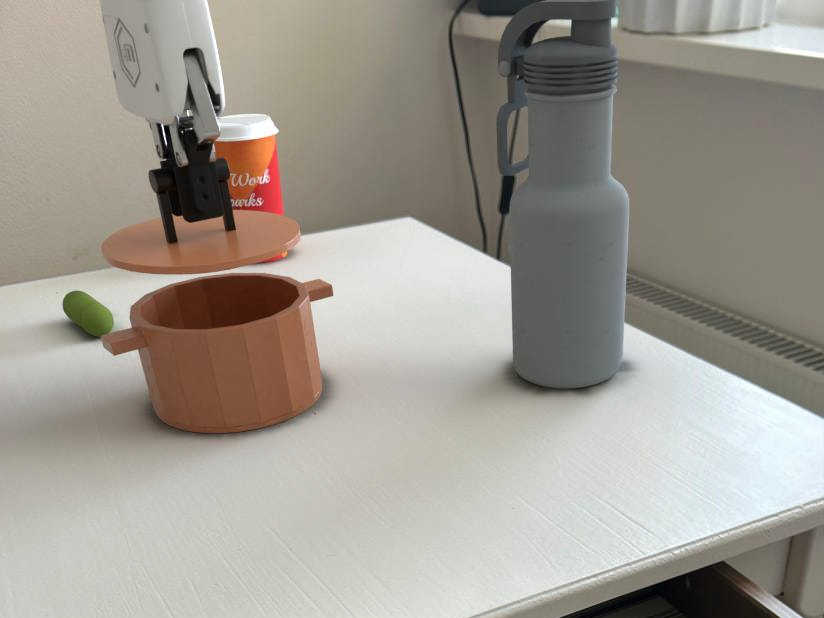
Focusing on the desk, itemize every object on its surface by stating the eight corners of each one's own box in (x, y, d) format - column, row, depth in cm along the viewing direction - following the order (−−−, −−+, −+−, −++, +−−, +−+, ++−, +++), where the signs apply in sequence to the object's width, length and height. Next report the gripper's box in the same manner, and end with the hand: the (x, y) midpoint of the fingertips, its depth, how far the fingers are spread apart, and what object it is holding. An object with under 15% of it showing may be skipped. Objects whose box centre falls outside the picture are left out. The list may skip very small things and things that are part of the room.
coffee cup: (217, 265, 118) (189, 127, 109) (246, 245, 124) (221, 112, 115) (282, 267, 116) (258, 126, 107) (308, 246, 122) (287, 112, 113)
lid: (337, 252, 77) (326, 163, 73) (149, 297, 70) (126, 201, 66) (249, 214, 88) (236, 133, 84) (77, 250, 80) (53, 163, 76)
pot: (379, 389, 86) (367, 293, 81) (165, 460, 77) (137, 357, 72) (300, 344, 96) (285, 255, 91) (101, 403, 87) (72, 307, 82)
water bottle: (489, 379, 87) (474, 6, 70) (540, 342, 93) (537, -8, 76) (593, 399, 83) (604, 7, 65) (639, 358, 89) (660, -9, 72)
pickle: (122, 335, 100) (113, 304, 98) (91, 343, 99) (82, 312, 97) (93, 314, 106) (84, 284, 104) (63, 321, 104) (54, 291, 102)
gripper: (48, -70, 69) (116, 205, 81) (130, -67, 59) (194, 247, 71) (149, -76, 73) (201, 189, 84) (243, -74, 63) (287, 227, 74)
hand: (197, 214), depth 77 cm, fingers closed on lid
